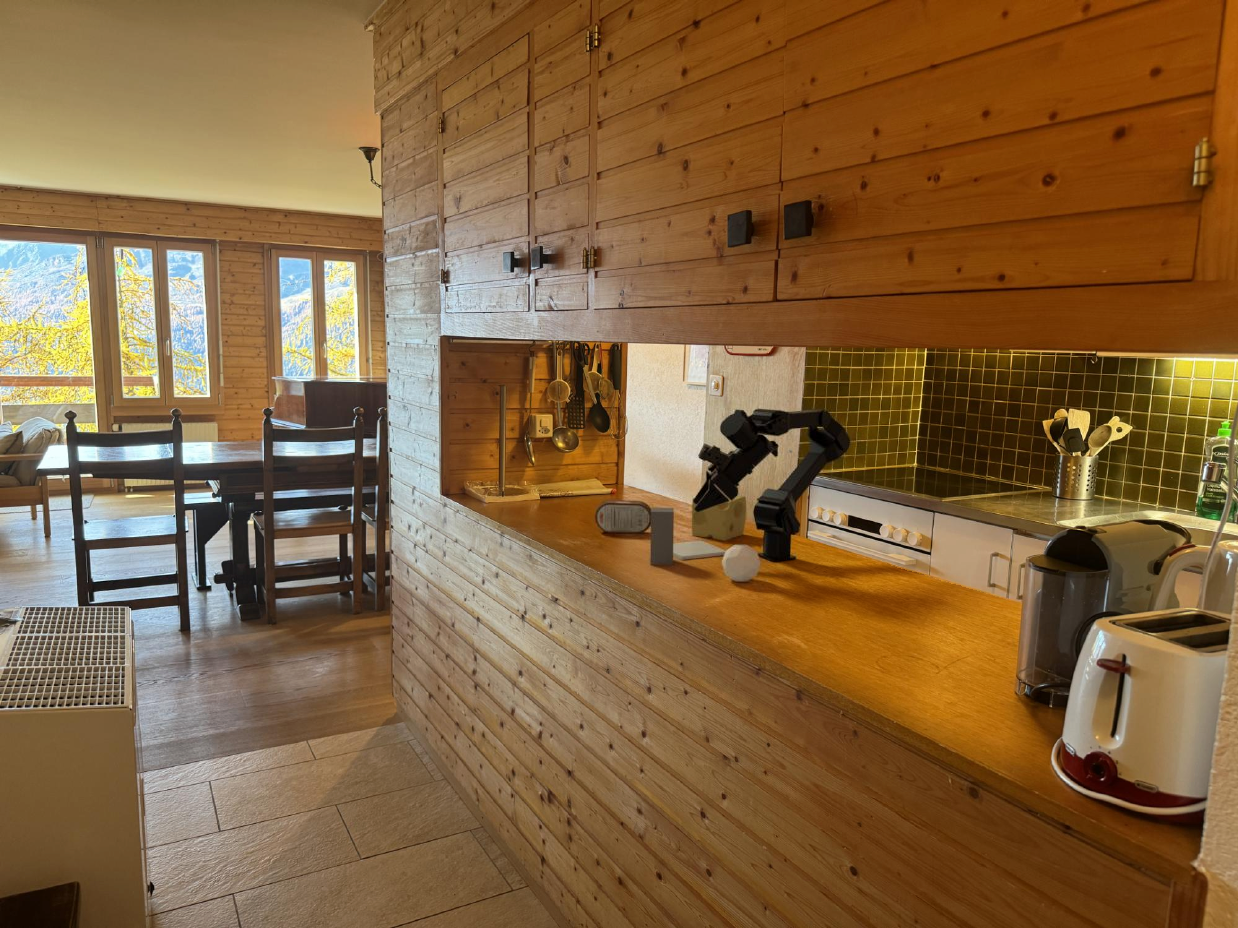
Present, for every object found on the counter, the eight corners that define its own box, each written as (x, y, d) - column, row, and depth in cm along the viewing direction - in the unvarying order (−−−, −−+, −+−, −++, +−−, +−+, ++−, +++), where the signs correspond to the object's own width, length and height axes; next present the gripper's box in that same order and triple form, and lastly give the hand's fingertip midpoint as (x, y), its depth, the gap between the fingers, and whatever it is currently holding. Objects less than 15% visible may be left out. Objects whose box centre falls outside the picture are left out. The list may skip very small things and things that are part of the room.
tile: (726, 554, 202) (726, 551, 202) (681, 559, 197) (681, 556, 197) (700, 543, 213) (700, 540, 213) (657, 548, 208) (657, 545, 208)
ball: (735, 595, 179) (716, 568, 176) (732, 572, 186) (714, 546, 183) (768, 580, 177) (750, 552, 174) (764, 557, 184) (746, 530, 181)
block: (672, 559, 198) (673, 507, 196) (673, 565, 193) (673, 511, 191) (650, 559, 198) (651, 507, 196) (650, 564, 193) (650, 511, 191)
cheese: (725, 541, 216) (726, 502, 214) (689, 535, 222) (689, 497, 221) (746, 534, 224) (747, 496, 223) (710, 528, 230) (711, 491, 229)
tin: (653, 532, 226) (653, 500, 225) (652, 534, 223) (652, 502, 222) (595, 530, 228) (595, 499, 226) (594, 533, 224) (594, 501, 223)
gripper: (717, 427, 200) (669, 474, 202) (723, 436, 181) (669, 488, 183) (751, 461, 200) (702, 508, 202) (760, 474, 182) (706, 525, 184)
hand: (694, 506), depth 193 cm, fingers open, 9 cm apart
